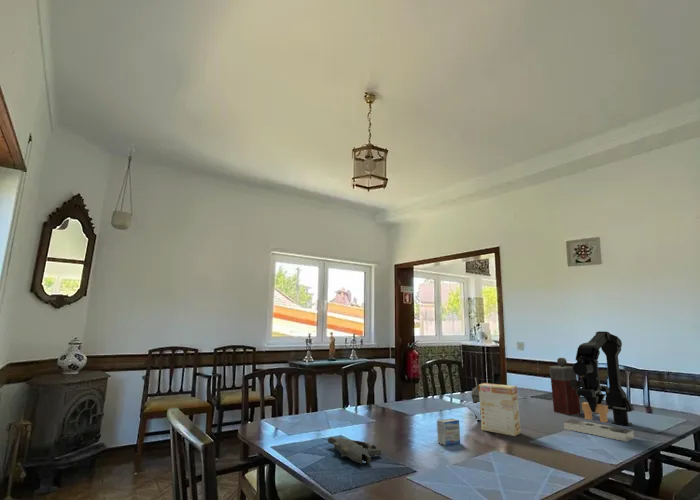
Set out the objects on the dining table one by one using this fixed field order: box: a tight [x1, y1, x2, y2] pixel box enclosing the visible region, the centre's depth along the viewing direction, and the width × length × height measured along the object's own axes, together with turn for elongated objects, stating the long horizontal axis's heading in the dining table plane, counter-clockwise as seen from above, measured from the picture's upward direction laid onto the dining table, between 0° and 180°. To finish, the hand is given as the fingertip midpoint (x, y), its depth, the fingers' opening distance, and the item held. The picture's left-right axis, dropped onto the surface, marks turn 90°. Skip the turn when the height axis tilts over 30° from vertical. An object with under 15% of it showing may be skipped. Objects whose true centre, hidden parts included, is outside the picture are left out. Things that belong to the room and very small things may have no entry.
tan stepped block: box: [581, 401, 609, 423], centre depth 168 cm, size 4×9×6 cm, turn 37°
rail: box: [563, 419, 635, 443], centre depth 167 cm, size 8×24×3 cm, turn 37°
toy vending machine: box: [549, 357, 582, 416], centre depth 208 cm, size 9×11×28 cm
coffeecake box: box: [478, 382, 522, 437], centre depth 172 cm, size 15×7×20 cm, turn 47°
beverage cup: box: [470, 377, 480, 420], centre depth 192 cm, size 7×7×20 cm
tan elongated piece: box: [327, 436, 382, 465], centre depth 142 cm, size 5×25×15 cm
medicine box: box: [436, 418, 461, 447], centre depth 155 cm, size 8×4×9 cm, turn 117°
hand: (595, 411), depth 168 cm, fingers closed on tan stepped block, 3 cm apart
